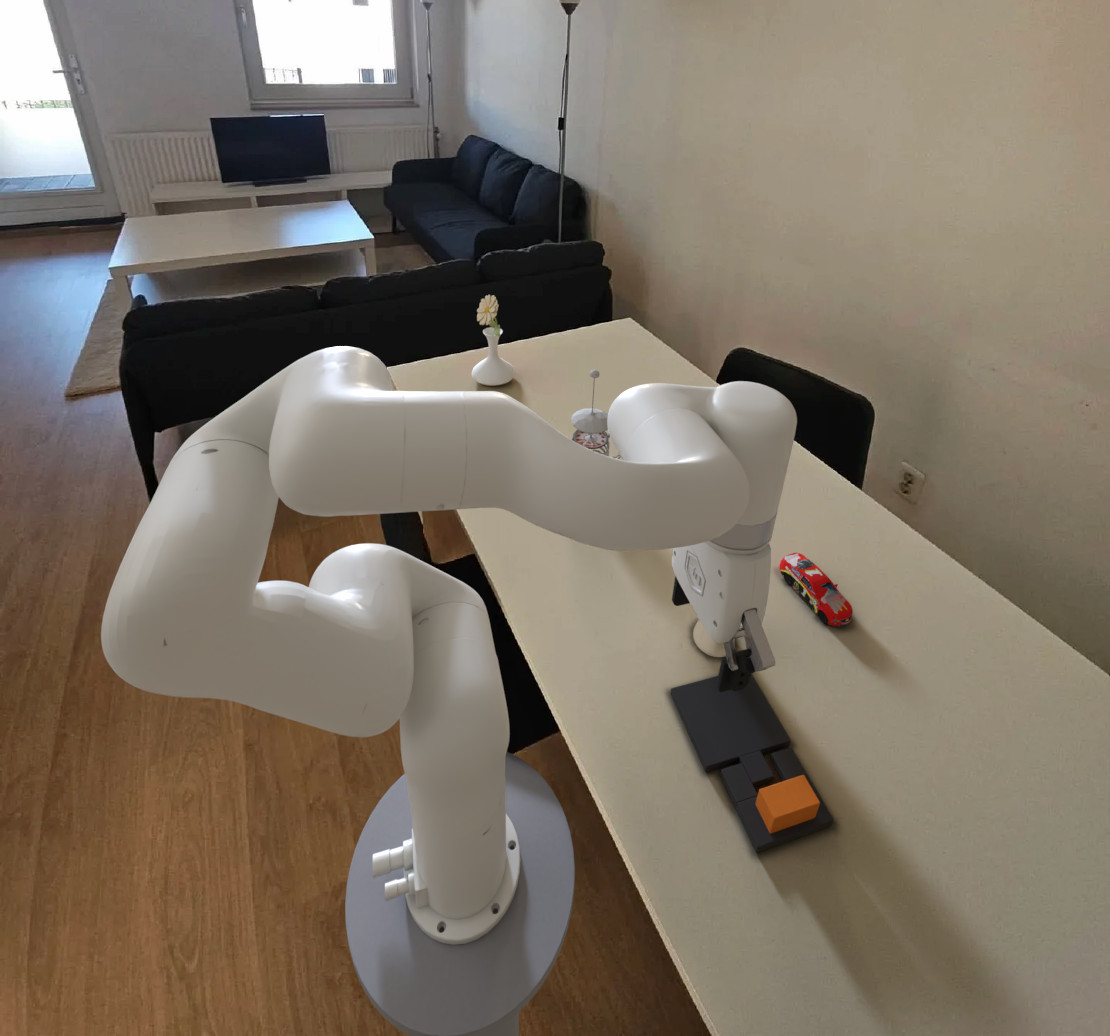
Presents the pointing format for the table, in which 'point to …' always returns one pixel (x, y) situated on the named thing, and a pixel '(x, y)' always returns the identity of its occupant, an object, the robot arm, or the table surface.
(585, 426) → the french press
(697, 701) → the charcoal pad
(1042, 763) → the table surface
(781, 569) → the race car
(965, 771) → the table surface
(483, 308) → the flower in vase
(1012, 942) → the table surface
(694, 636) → the beer glass
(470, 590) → the robot arm
